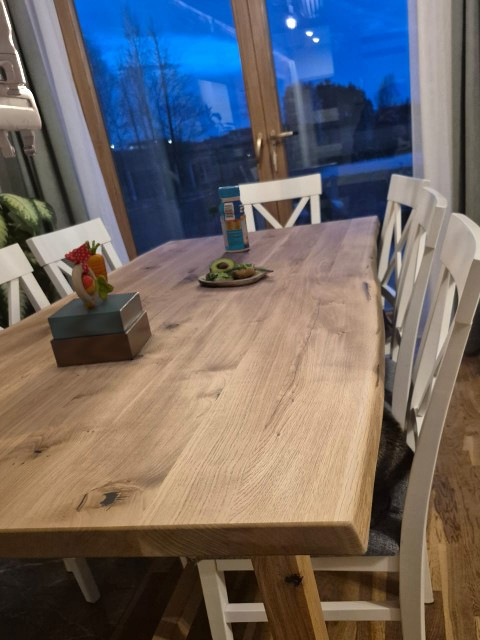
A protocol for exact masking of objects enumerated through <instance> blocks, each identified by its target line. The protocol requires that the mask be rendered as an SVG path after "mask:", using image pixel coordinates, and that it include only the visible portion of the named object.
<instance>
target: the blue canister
mask: <svg viewBox="0 0 480 640" xmlns="http://www.w3.org/2000/svg"><path fill="white" fill-rule="evenodd" d="M217 191H218V197H219V199H220V200H221V201H220V204H219V206H218V212H219V214H220V216H219V221H220V225H221V231H222V238H223V242H224V250H225V251H224V252H226V253H228V254H229V253H230V254H231V253H232V254H233V253H242V252H247V251H249V250H250V249H251V247H250V241H249V233H248V226H247V215H246V213H245V205H244V203H243V202H242V201H241V199H240V197H241V190H240V186H239V185H227V186H222V187H221V186H220V187H218V190H217Z"/></svg>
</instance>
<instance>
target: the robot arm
mask: <svg viewBox="0 0 480 640" xmlns="http://www.w3.org/2000/svg"><path fill="white" fill-rule="evenodd" d="M25 85H27V81H26V77H25V74H24V70H23V67H22V63H21V59H20V56H19V52H18V51H17V49H16V47H15V45H14V41H13V37H12V26H11V23H10V18H9V15H8V12H7V9H6V6H5V2H4V0H0V150H1V153H2V156H3V158H4V159H10V158H15V157H16V156H17V154H16V151H15V147H14V146H12V144H11V142H10V140H9V133H8V132H20V135H21V137H22V138H23V144H24V146H22V148H23V151H24V154H25V156H27V157H29V156H36V155H37V149H36V133H35V131H39V130H41V129H42V119H41V116H40V113H39V109H38V107H37V104H36V101H35V97H34V95H33V93H32V92H31V90H30V89H28V88H27V86H25Z"/></svg>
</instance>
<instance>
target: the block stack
mask: <svg viewBox="0 0 480 640" xmlns="http://www.w3.org/2000/svg"><path fill="white" fill-rule="evenodd" d="M141 300H142V299H141V296H140V292H139V291H134V292H125V293H124V292H123V293H115V294H107V299H106V300H102V299H101V298H100V297H99V295H98V299H97V301H96V302H95V303H94V306H93V307H90V308H88V307H87V306H86V305H85V303H83V302H82V300H81V299H80V298H79V297H75V298H72V299H71V300H70V301H69V302H67V303H66V304H64V305H63V306H62V307H60V308H59V309H58V310H57V311H55V312H54V313H52V314H51V315H49V316H48V317H47V322H48V325H49V328H50V333H51V335H52V339H50V341H49V343H50V347H51V349H52V352H53V356H54V359H55V363H56V366H57V367H58V368H59V367H60V368H61V367H71V366H82V365H91V364H100V363H110V362H112V363H113V362H122V361H131V360H134V359H135V358H136V357H137V355H138V354H139V352H140V351H142V348H143V347H144V346H145V344H146V343H147V342H148V340H149V338H151V337H152V330H151V325H150V321H149V317H148V311H147V310H144V309H143V304H142V301H141Z"/></svg>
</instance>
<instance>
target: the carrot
mask: <svg viewBox="0 0 480 640" xmlns="http://www.w3.org/2000/svg"><path fill="white" fill-rule="evenodd" d="M84 243H85V244H87V250H88V251H91V256H90V258H89V260H88V261H87V262H86V264H88V266H89V268H90V269H91V270H92V271H93V273H94V275H95V277H96V279H97V278H98V277H99V276H100V275H103V276H104V277H105V279H106V281H107V282H108V283H109V280H108V279H109V278H108V271H107V265H106V260H105V257H104V256H103V255H102V254H100V253H97V250H98V248H99V247H100V246H101V243H100V242H97V243H96V240H94V239H93V240H92V241H91V243H90V241H89V240H85V242H84Z"/></svg>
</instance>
